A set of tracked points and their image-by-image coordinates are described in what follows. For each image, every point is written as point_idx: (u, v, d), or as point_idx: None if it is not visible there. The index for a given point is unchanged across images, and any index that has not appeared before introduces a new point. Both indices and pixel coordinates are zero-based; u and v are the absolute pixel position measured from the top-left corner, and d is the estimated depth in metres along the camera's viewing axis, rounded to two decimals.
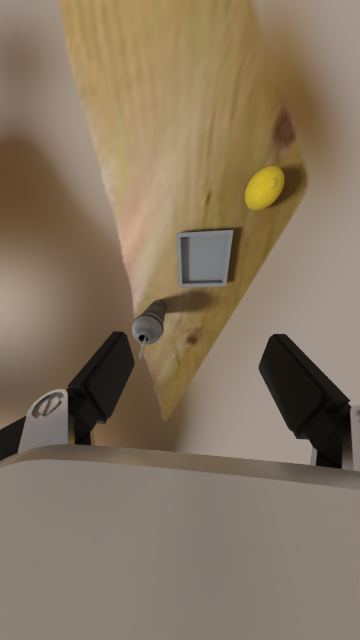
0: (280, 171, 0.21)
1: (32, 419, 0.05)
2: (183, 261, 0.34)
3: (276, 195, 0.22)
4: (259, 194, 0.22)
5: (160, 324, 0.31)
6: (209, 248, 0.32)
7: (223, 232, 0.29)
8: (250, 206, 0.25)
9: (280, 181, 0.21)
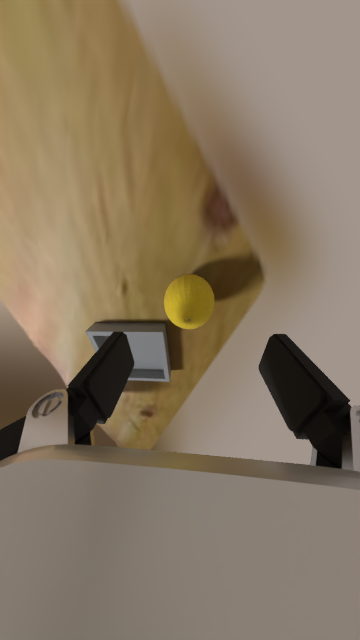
0: (200, 299, 0.12)
1: (32, 419, 0.05)
2: None
3: (201, 324, 0.14)
4: (174, 322, 0.14)
5: None
6: (141, 341, 0.24)
7: (149, 334, 0.20)
8: None
9: (201, 314, 0.12)
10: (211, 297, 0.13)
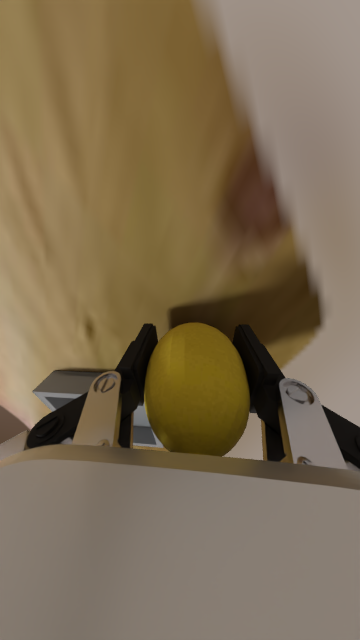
0: (225, 417, 0.05)
1: (96, 394, 0.05)
2: None
3: None
4: None
5: None
6: None
7: None
8: None
9: (227, 449, 0.05)
10: (247, 393, 0.06)
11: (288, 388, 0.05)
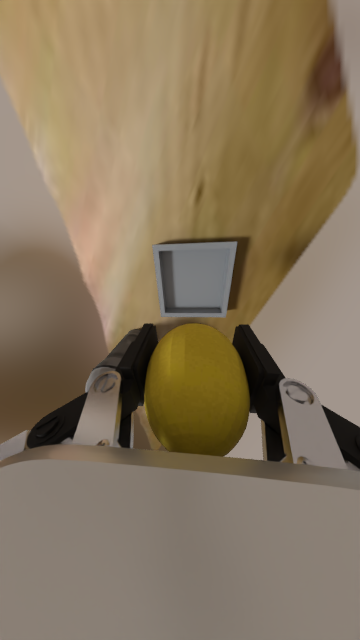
0: (225, 418, 0.05)
1: (96, 394, 0.05)
2: (166, 282, 0.24)
3: None
4: None
5: None
6: (202, 266, 0.23)
7: (222, 245, 0.19)
8: None
9: (228, 450, 0.05)
10: (247, 394, 0.06)
11: (288, 388, 0.05)
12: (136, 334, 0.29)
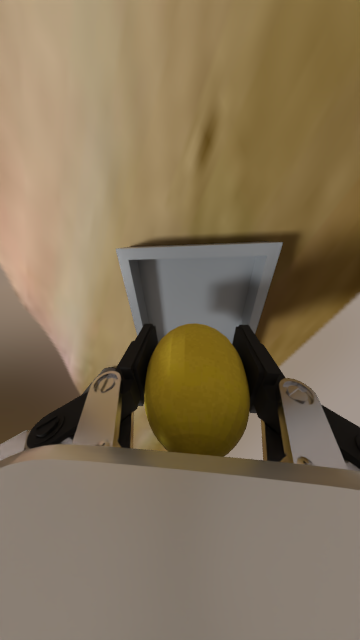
0: (225, 418, 0.05)
1: (96, 394, 0.05)
2: (149, 309, 0.15)
3: None
4: None
5: None
6: (209, 284, 0.13)
7: (251, 249, 0.10)
8: None
9: (228, 450, 0.05)
10: (247, 394, 0.06)
11: (288, 388, 0.05)
12: None
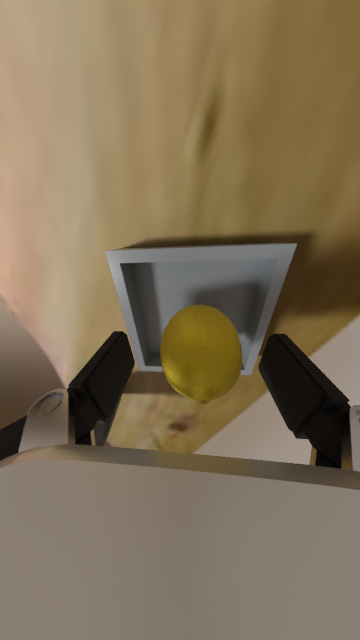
0: (223, 362, 0.07)
1: (33, 419, 0.05)
2: (145, 316, 0.14)
3: None
4: (176, 390, 0.08)
5: None
6: (211, 290, 0.12)
7: (260, 251, 0.08)
8: None
9: (225, 387, 0.07)
10: (240, 352, 0.08)
11: None
12: None
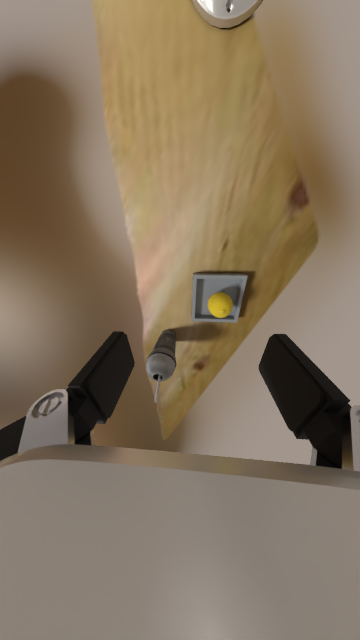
0: (228, 303, 0.28)
1: (32, 419, 0.05)
2: (196, 297, 0.36)
3: (227, 315, 0.30)
4: (214, 314, 0.30)
5: (174, 361, 0.32)
6: (223, 288, 0.34)
7: (238, 277, 0.30)
8: None
9: (228, 310, 0.29)
10: (232, 303, 0.30)
11: None
12: (170, 333, 0.40)
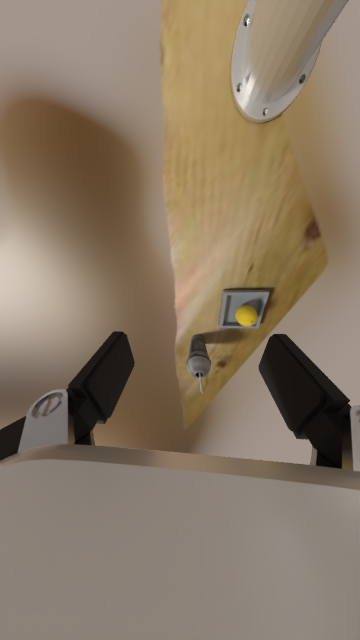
0: (254, 316, 0.36)
1: (32, 419, 0.05)
2: (224, 308, 0.43)
3: (253, 324, 0.37)
4: (243, 323, 0.37)
5: (209, 362, 0.40)
6: (247, 301, 0.41)
7: (261, 293, 0.38)
8: None
9: (254, 321, 0.36)
10: None
11: None
12: (200, 337, 0.48)
